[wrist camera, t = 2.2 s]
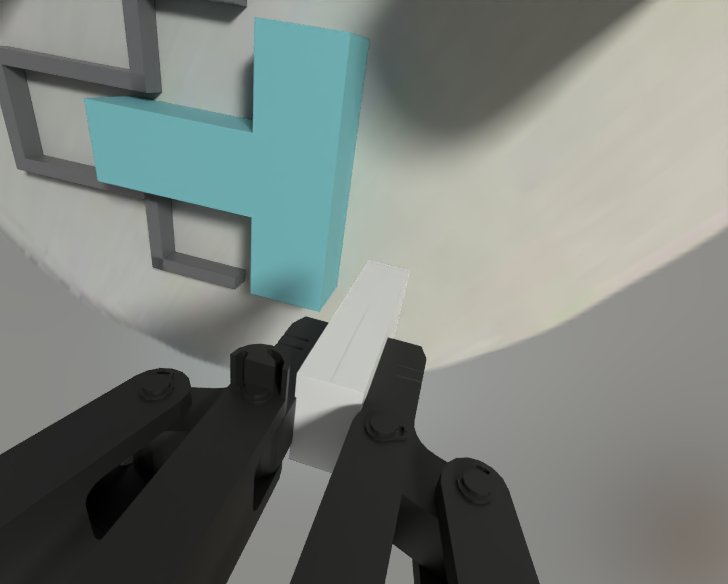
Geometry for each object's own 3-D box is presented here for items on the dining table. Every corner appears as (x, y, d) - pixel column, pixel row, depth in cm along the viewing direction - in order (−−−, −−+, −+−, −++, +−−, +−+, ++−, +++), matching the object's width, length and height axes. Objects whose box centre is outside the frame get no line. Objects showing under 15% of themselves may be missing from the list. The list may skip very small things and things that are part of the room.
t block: (369, 39, 23) (350, 32, 20) (337, 285, 31) (319, 311, 28) (120, -2, 26) (65, -14, 22) (148, 237, 33) (110, 256, 30)
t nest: (246, -15, 24) (233, -20, 22) (244, 280, 33) (235, 289, 32) (-17, -55, 26) (-43, -61, 25) (50, 230, 36) (34, 235, 34)
